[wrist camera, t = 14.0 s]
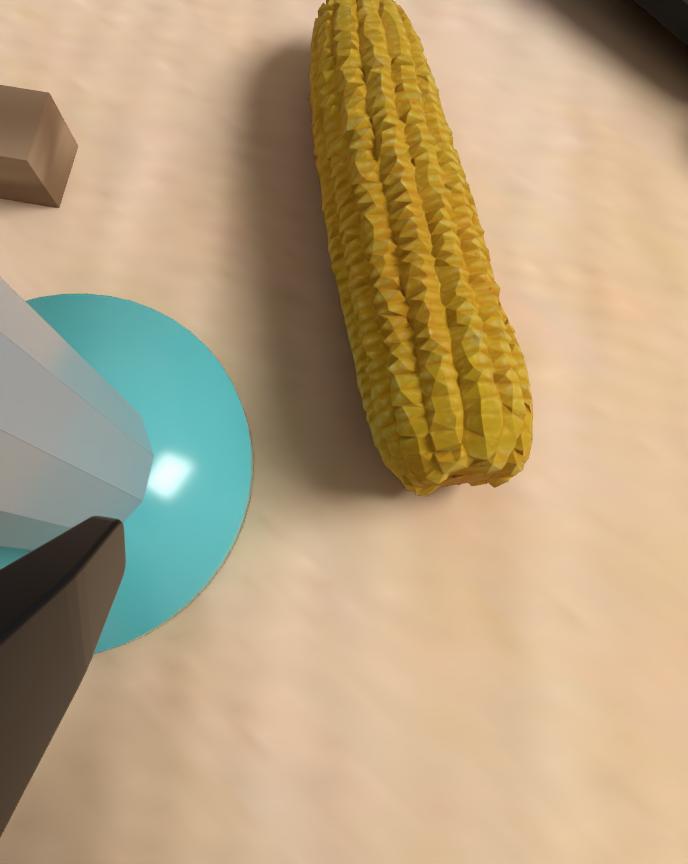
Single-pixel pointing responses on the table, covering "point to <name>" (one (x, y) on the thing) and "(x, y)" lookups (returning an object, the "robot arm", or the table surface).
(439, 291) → the food
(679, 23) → the toy
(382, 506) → the table surface
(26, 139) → the block
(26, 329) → the cup
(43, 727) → the robot arm
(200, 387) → the dish
